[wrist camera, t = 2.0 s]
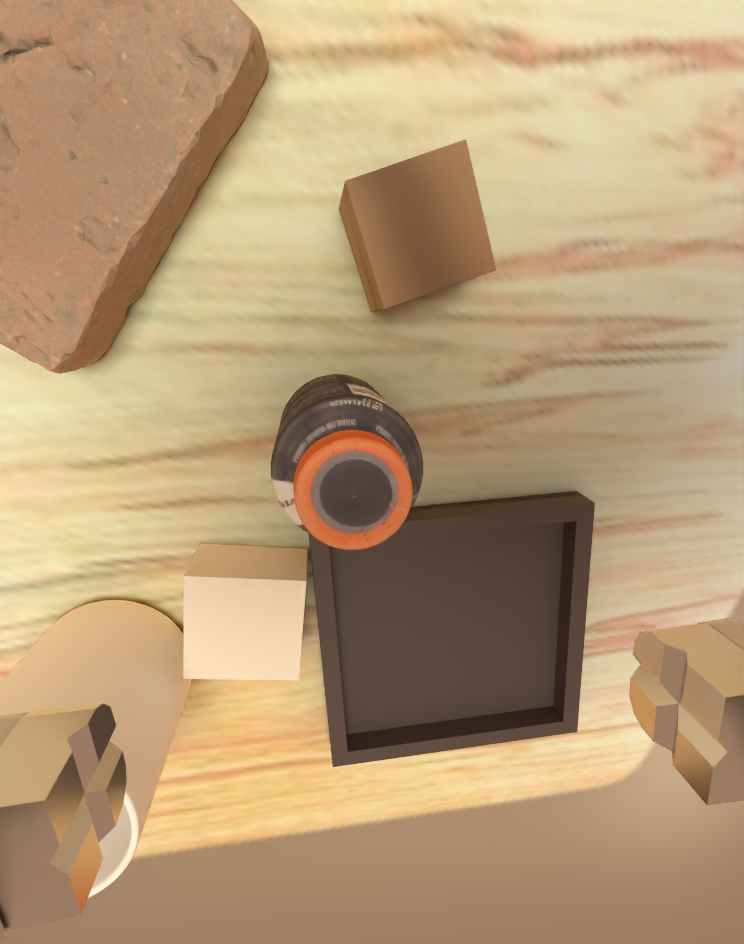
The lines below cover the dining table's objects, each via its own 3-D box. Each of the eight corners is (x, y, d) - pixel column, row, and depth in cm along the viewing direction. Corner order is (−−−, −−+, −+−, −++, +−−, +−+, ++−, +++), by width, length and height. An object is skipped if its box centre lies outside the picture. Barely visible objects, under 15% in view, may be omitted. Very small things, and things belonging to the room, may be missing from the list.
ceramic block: (307, 547, 29) (306, 580, 25) (300, 636, 31) (298, 680, 27) (201, 542, 28) (183, 576, 25) (199, 633, 30) (183, 678, 26)
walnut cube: (435, 175, 24) (465, 139, 20) (462, 280, 26) (495, 270, 21) (338, 209, 24) (345, 180, 19) (371, 311, 26) (384, 308, 21)
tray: (576, 491, 30) (594, 502, 28) (562, 709, 35) (576, 731, 33) (308, 517, 28) (308, 531, 27) (331, 741, 33) (332, 767, 31)
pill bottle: (290, 487, 28) (277, 590, 17) (272, 380, 26) (245, 420, 15) (395, 472, 28) (447, 564, 18) (385, 366, 27) (435, 396, 16)
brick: (105, -81, 20) (46, -195, 16) (279, 71, 23) (270, 8, 18) (-70, 268, 23) (-162, 255, 19) (99, 373, 25) (53, 384, 21)
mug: (-19, 710, 30) (-193, 915, 19) (98, 566, 28) (-24, 706, 18) (110, 775, 32) (15, 988, 22) (226, 645, 30) (182, 810, 20)
